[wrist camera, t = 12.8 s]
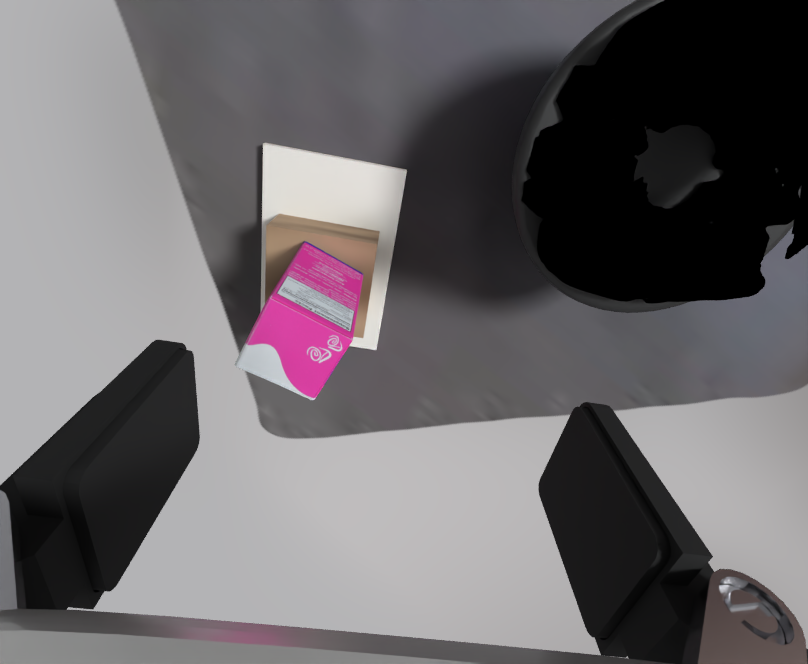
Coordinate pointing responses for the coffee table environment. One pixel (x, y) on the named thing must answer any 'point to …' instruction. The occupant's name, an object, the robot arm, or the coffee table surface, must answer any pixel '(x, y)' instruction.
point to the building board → (336, 208)
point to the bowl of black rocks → (669, 154)
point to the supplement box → (305, 323)
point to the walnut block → (331, 238)
